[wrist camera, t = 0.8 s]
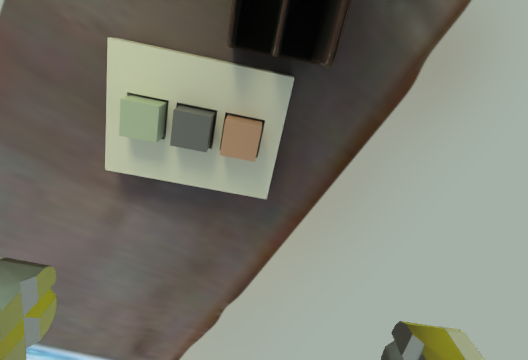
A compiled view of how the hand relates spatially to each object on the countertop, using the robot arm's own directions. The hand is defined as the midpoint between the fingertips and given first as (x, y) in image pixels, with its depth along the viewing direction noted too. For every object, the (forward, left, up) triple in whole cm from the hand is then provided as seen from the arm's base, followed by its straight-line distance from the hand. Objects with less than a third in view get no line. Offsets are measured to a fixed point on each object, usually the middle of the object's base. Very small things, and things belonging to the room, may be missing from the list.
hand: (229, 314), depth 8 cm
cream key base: (+4, -6, -34) cm, 35 cm away
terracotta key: (+4, -1, -31) cm, 32 cm away
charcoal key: (+4, -6, -31) cm, 32 cm away
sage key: (+4, -12, -31) cm, 34 cm away
